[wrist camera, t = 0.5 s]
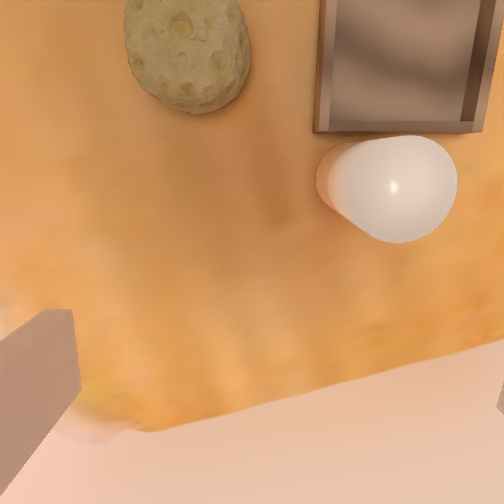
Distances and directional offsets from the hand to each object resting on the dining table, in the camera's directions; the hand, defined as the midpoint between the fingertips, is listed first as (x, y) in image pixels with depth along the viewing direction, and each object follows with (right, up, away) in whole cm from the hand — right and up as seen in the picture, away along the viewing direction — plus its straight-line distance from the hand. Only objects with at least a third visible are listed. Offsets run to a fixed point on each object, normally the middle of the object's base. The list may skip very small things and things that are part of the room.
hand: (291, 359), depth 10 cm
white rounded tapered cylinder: (+8, +10, +21) cm, 25 cm away
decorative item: (-6, +20, +19) cm, 28 cm away
